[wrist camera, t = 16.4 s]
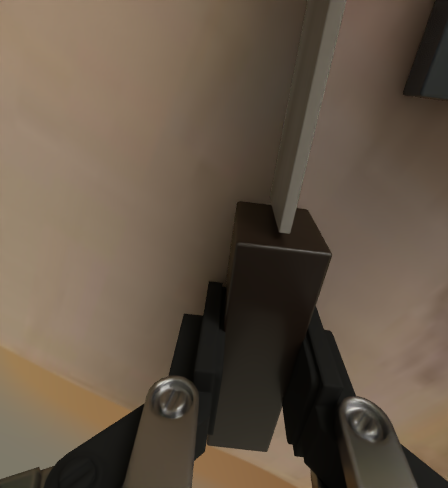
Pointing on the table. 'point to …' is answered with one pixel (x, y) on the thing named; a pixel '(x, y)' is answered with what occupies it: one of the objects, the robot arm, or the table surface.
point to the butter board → (431, 58)
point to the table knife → (276, 259)
